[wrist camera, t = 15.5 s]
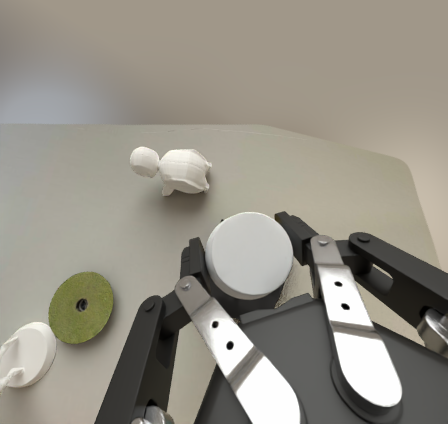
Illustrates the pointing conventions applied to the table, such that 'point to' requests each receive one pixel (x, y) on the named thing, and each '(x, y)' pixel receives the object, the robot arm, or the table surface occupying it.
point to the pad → (243, 301)
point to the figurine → (26, 355)
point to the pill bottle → (249, 255)
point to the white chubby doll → (173, 169)
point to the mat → (80, 307)
